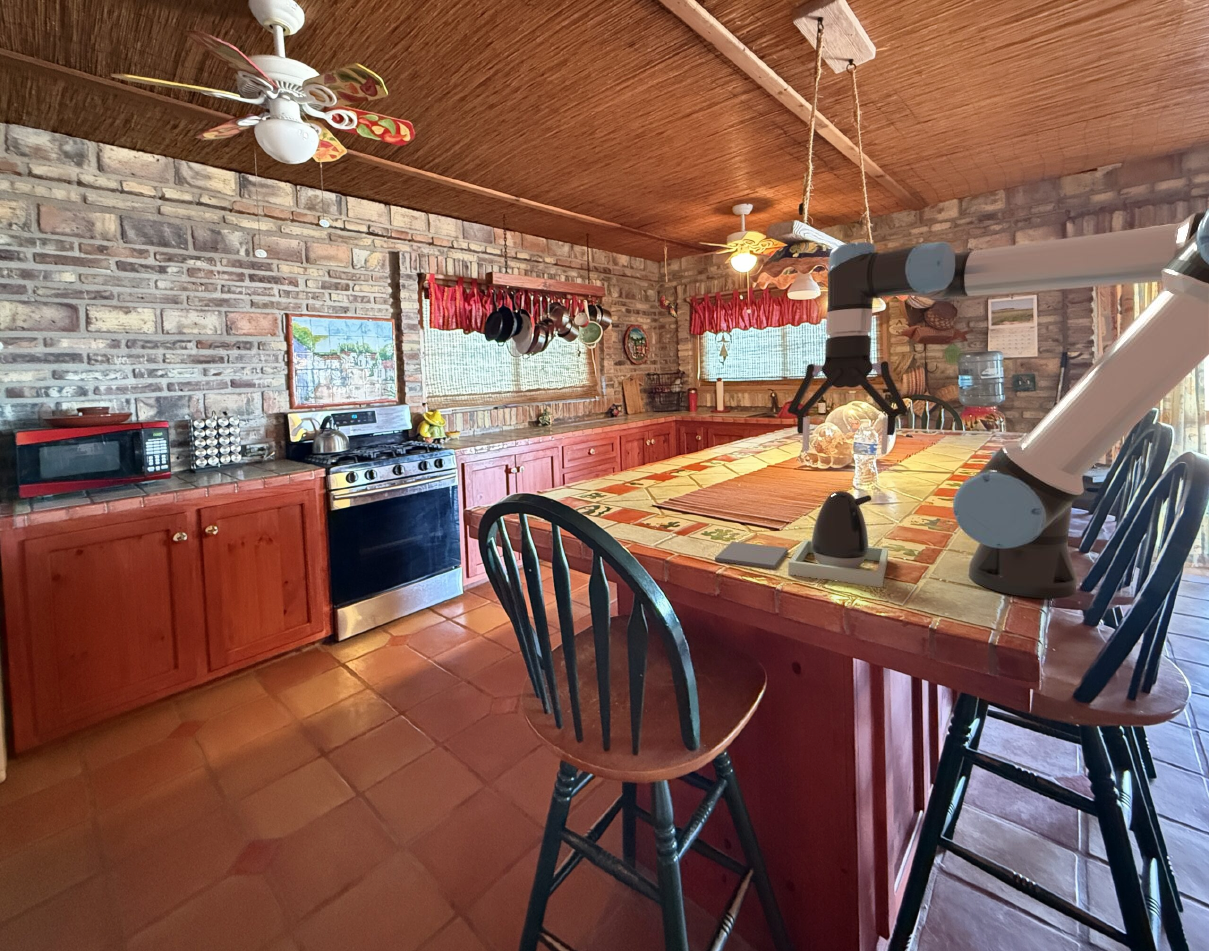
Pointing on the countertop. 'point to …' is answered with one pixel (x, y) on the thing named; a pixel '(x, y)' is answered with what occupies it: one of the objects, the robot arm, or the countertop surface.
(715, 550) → the countertop surface
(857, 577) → the gray rectangular frame
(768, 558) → the mat
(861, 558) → the pump dispenser
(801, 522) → the countertop surface
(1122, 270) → the robot arm
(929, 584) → the countertop surface
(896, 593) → the countertop surface
